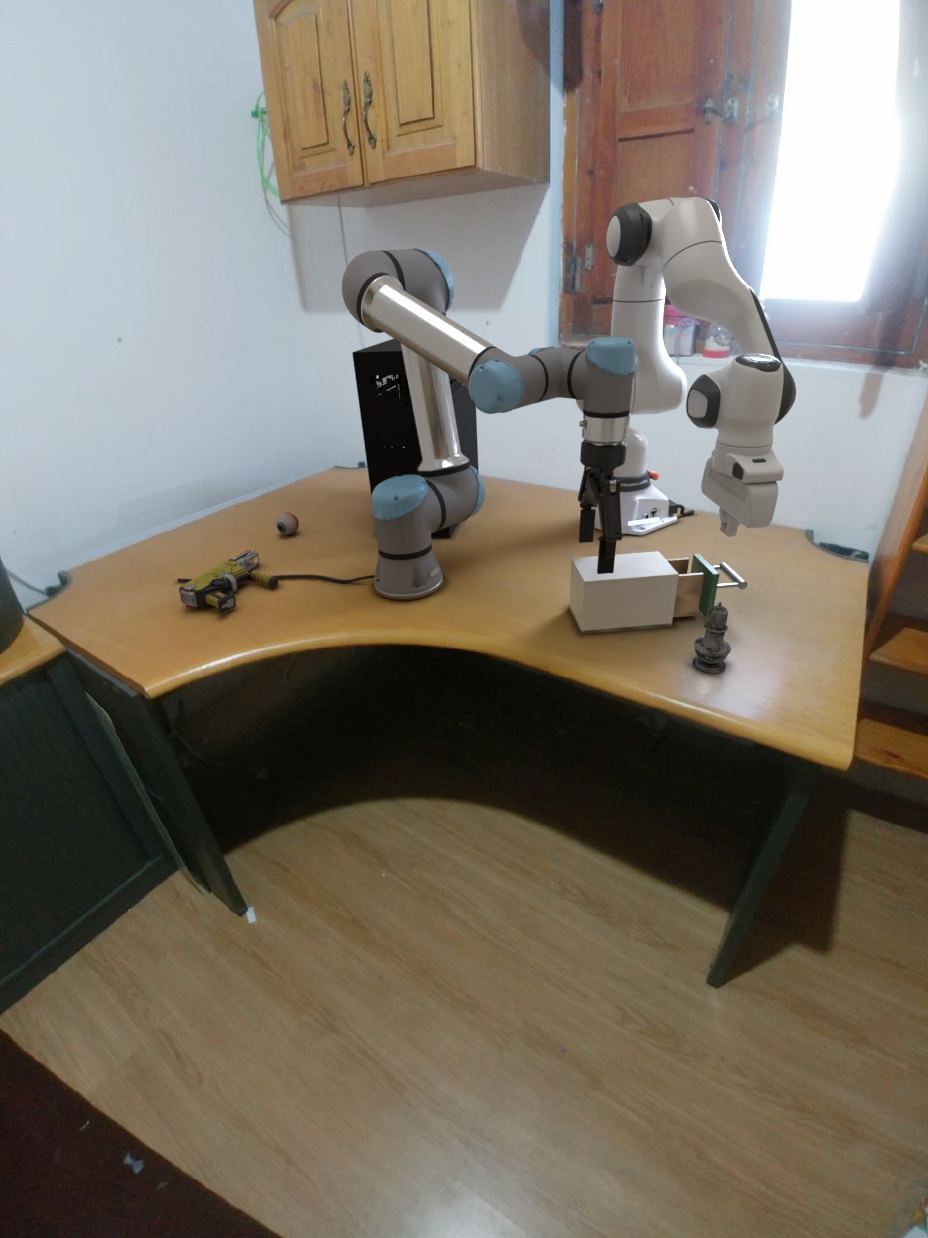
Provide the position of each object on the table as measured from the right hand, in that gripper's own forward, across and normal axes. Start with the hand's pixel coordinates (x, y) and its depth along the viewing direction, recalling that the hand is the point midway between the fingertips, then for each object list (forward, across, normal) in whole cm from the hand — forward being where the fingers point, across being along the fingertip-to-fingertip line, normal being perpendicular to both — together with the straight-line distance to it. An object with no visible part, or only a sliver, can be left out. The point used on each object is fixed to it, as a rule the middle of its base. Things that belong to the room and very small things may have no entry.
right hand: (727, 533), depth 110 cm
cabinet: (+16, 0, -19) cm, 25 cm away
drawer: (+15, 0, -8) cm, 17 cm away
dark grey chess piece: (+16, +18, -9) cm, 26 cm away
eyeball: (+16, -58, -93) cm, 111 cm away
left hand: (+3, 0, -24) cm, 25 cm away
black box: (+16, -68, -54) cm, 88 cm away
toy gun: (+16, -25, -98) cm, 102 cm away
